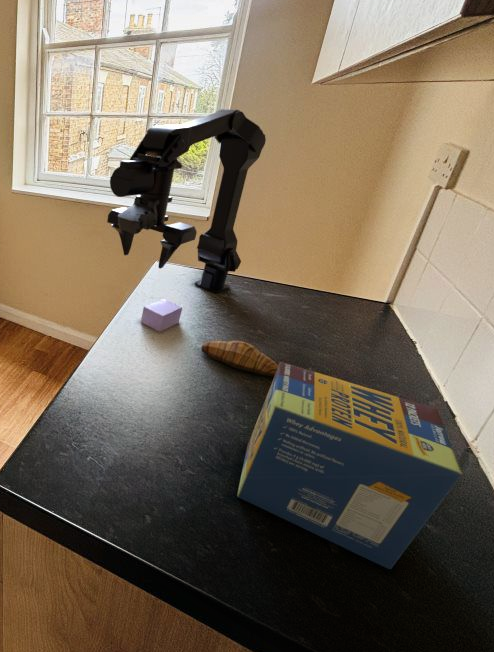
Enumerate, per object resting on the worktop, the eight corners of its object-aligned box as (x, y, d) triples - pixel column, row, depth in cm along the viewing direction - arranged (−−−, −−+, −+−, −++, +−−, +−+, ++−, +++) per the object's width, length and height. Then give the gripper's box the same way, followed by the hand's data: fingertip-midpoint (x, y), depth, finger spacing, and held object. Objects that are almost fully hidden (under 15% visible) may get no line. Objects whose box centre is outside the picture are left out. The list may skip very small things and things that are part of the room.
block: (159, 313, 94) (163, 298, 93) (178, 322, 91) (182, 307, 89) (140, 322, 91) (143, 306, 89) (159, 332, 87) (163, 316, 85)
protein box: (245, 445, 59) (278, 359, 52) (381, 501, 51) (442, 408, 44) (235, 498, 52) (272, 405, 45) (393, 573, 44) (468, 474, 37)
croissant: (195, 359, 78) (201, 337, 76) (204, 344, 83) (209, 323, 81) (276, 388, 71) (285, 365, 69) (280, 369, 76) (289, 347, 73)
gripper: (94, 188, 86) (86, 256, 93) (172, 207, 72) (156, 285, 79) (128, 182, 92) (118, 246, 99) (206, 198, 78) (188, 272, 85)
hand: (142, 261), depth 90 cm, fingers open, 9 cm apart
